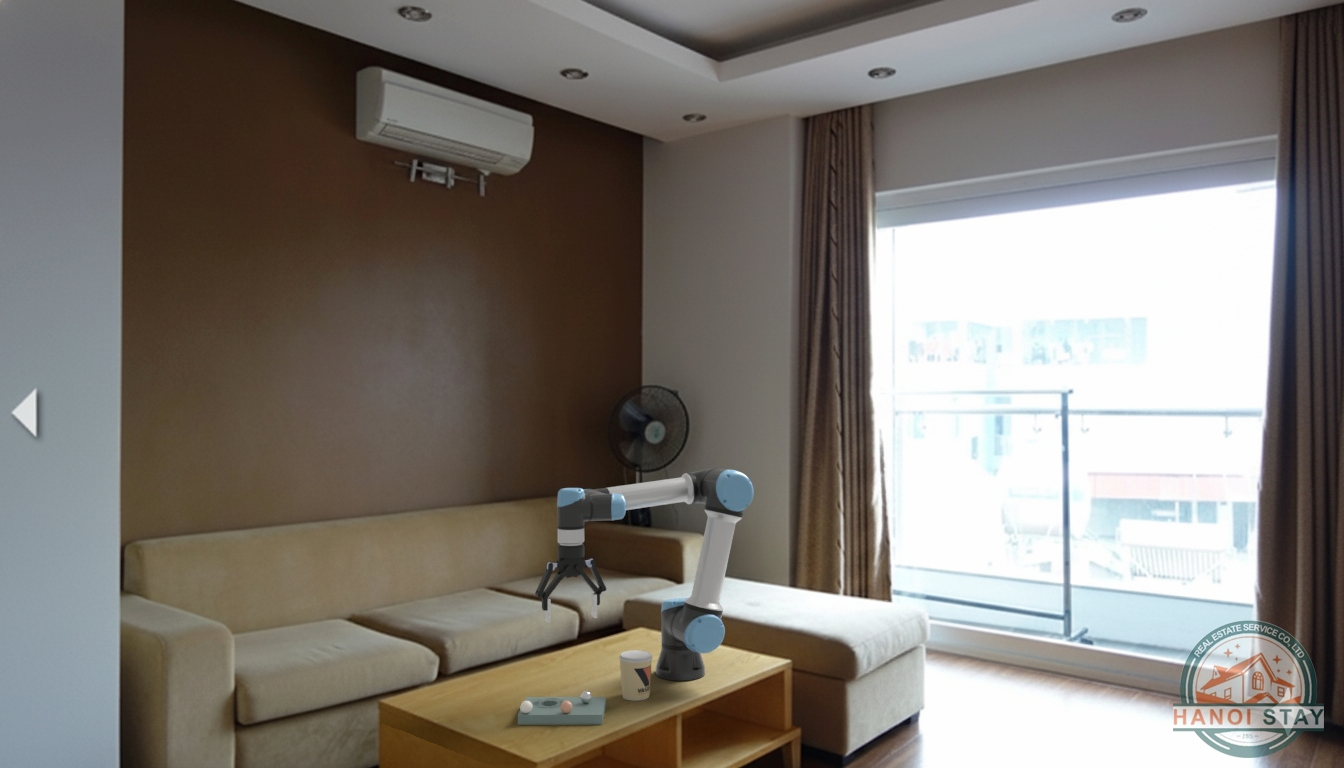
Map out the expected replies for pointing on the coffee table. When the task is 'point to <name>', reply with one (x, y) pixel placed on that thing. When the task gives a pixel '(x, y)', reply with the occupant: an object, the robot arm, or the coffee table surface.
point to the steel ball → (586, 697)
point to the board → (551, 714)
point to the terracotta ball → (566, 706)
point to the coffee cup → (635, 674)
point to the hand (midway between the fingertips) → (571, 619)
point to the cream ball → (526, 706)
